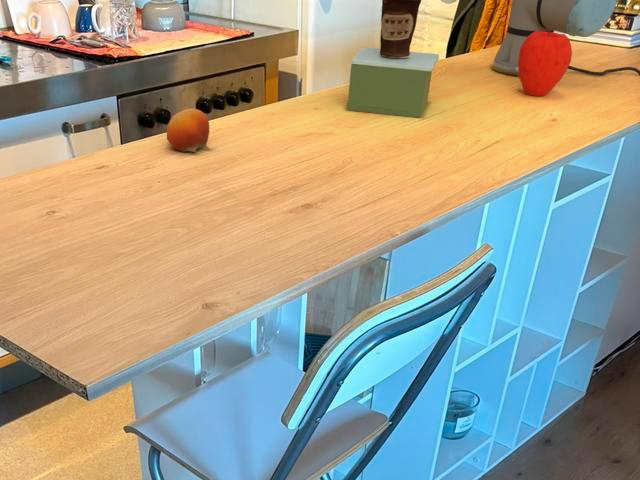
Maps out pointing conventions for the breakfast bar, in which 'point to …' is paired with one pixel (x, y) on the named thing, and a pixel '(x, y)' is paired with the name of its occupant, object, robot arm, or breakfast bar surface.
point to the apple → (543, 61)
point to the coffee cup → (398, 27)
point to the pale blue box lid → (396, 60)
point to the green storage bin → (388, 90)
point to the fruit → (188, 130)
